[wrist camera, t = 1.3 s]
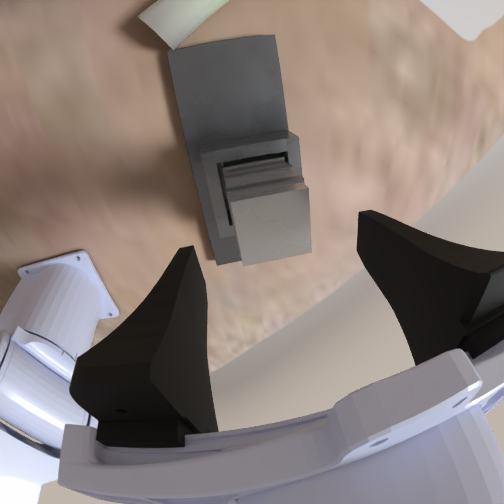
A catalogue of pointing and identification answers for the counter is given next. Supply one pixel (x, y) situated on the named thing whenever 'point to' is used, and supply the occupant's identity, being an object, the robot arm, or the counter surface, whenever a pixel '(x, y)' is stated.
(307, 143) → the counter surface
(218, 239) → the stand
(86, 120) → the counter surface
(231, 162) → the column
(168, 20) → the leek
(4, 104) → the counter surface
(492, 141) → the counter surface
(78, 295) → the robot arm
